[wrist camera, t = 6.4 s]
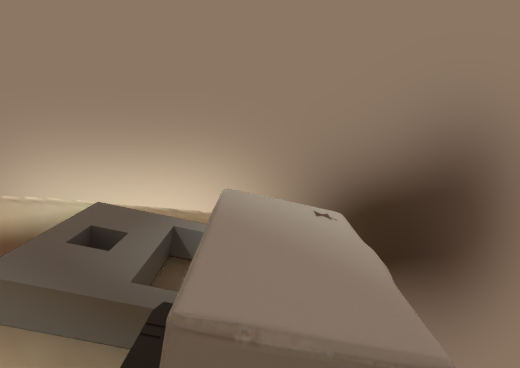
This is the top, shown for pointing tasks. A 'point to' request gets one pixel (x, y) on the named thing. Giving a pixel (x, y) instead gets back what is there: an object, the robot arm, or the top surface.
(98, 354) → the top surface
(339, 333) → the skincare box
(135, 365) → the robot arm
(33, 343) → the top surface
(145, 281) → the holder
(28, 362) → the top surface
